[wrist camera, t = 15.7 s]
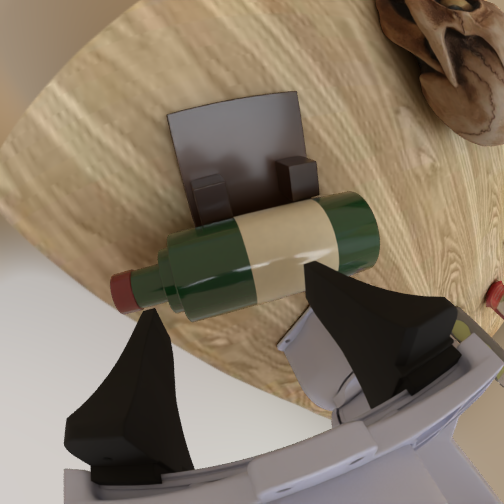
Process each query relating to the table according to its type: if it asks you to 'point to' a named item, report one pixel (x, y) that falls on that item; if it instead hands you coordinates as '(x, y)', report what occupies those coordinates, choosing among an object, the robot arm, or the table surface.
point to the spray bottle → (468, 326)
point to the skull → (455, 60)
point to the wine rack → (242, 156)
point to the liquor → (496, 298)
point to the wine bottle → (252, 257)
